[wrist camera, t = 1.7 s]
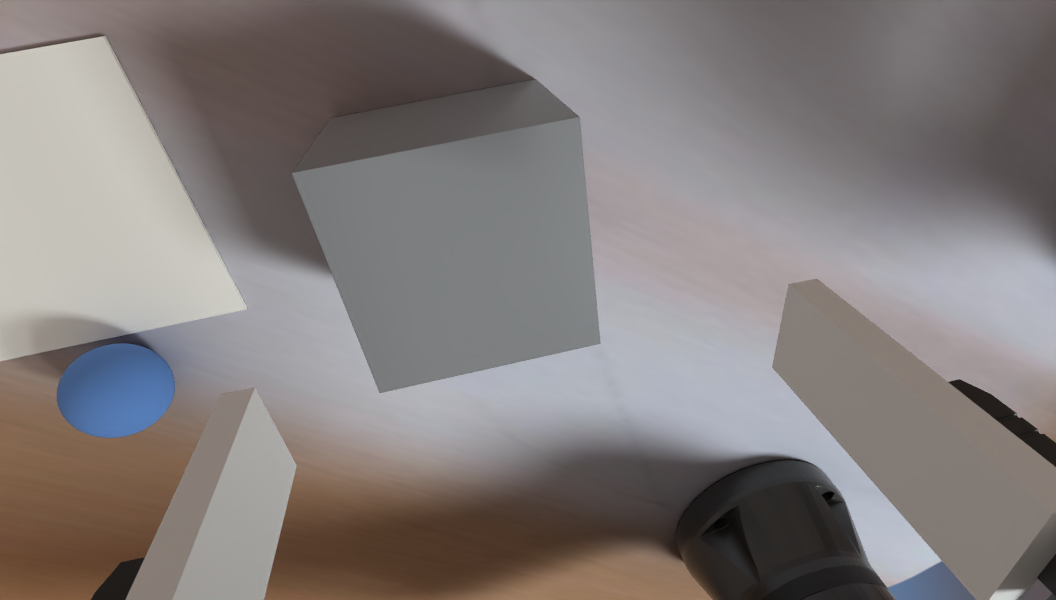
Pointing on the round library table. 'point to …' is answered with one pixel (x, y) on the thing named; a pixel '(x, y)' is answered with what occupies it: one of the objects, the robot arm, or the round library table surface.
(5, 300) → the white flat square plate
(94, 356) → the ball
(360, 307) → the block
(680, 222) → the round library table surface
